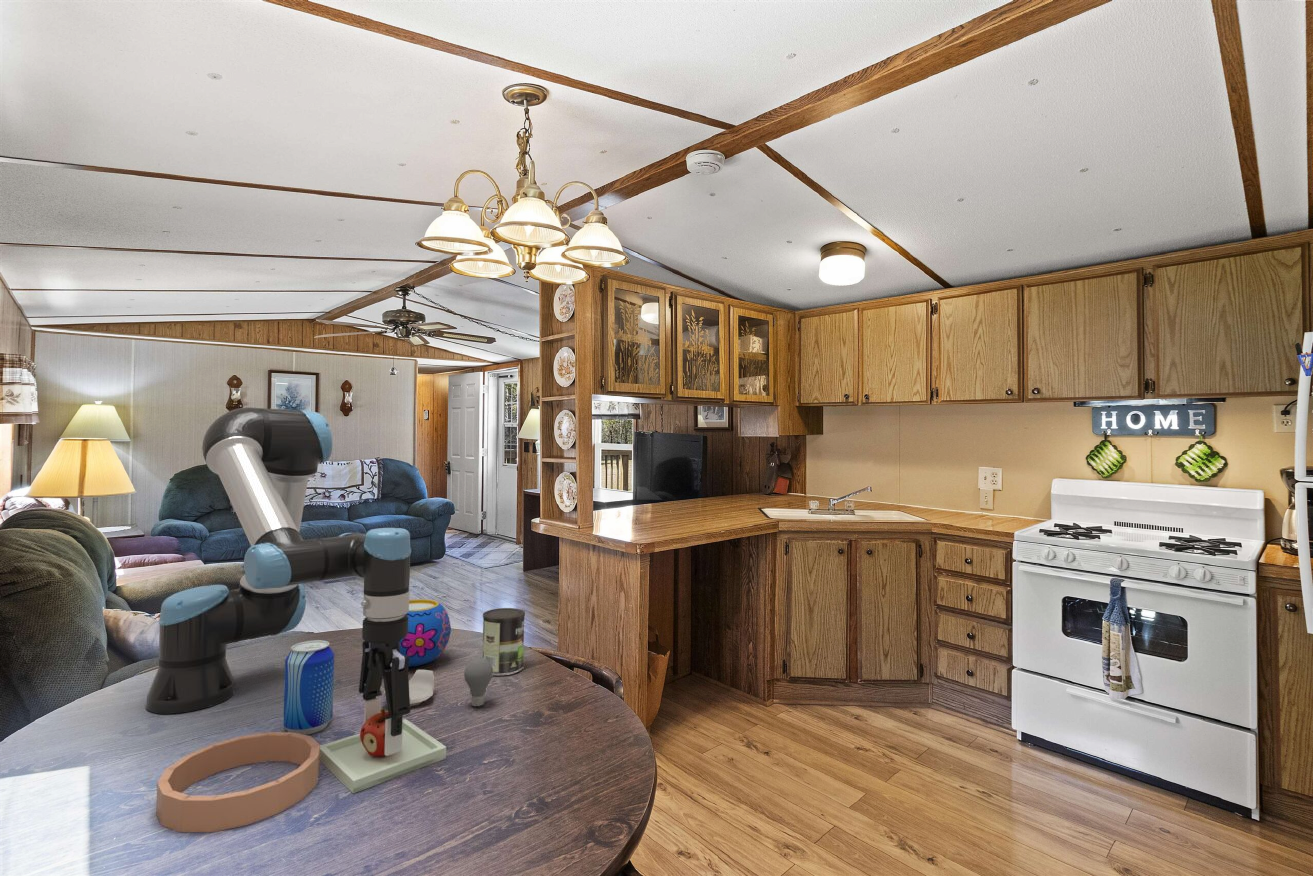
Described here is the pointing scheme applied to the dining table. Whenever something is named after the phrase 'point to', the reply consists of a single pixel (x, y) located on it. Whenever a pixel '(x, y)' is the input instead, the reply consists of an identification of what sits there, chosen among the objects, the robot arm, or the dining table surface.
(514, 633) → the coffee can
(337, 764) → the tray
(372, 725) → the apple
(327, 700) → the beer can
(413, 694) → the pottery shard
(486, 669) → the light bulb
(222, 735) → the dining table surface
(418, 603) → the ceramic pot
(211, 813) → the ring band
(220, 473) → the robot arm
